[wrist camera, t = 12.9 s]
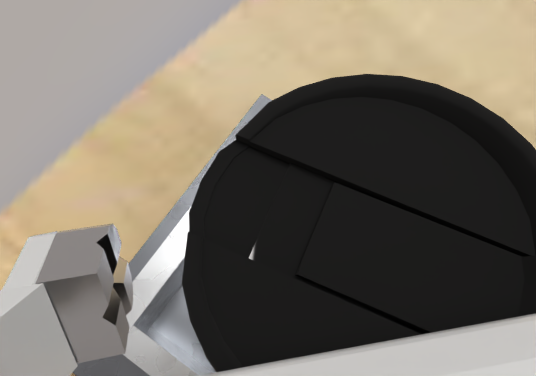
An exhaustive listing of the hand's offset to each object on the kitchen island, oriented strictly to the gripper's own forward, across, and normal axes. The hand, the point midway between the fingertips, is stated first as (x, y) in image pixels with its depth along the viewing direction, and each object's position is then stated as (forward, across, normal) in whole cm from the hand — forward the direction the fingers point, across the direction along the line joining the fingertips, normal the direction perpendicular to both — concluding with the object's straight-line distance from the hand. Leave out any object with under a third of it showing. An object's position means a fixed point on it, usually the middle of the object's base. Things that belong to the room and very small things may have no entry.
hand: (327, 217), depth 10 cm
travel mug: (+12, 0, +13) cm, 18 cm away
